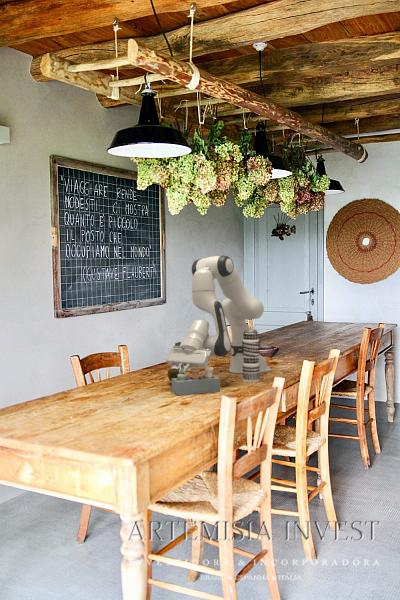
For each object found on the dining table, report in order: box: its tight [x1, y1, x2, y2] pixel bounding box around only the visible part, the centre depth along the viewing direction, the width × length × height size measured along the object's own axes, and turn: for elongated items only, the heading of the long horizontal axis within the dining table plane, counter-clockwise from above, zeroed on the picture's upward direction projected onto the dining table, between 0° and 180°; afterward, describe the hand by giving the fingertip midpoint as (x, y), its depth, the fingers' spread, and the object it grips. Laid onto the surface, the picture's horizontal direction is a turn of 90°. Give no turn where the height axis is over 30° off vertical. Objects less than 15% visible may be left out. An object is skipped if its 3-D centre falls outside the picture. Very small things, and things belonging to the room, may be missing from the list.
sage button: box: [178, 373, 188, 381], centre depth 277 cm, size 4×4×7 cm
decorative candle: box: [242, 328, 261, 383], centre depth 303 cm, size 9×9×25 cm
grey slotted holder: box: [171, 374, 221, 396], centre depth 280 cm, size 20×9×6 cm, turn 111°
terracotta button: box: [190, 367, 201, 380], centre depth 279 cm, size 4×4×7 cm
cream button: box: [203, 366, 214, 379], centre depth 282 cm, size 4×4×7 cm
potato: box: [167, 367, 182, 382], centre depth 298 cm, size 8×13×8 cm, turn 147°
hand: (182, 372), depth 277 cm, fingers closed
